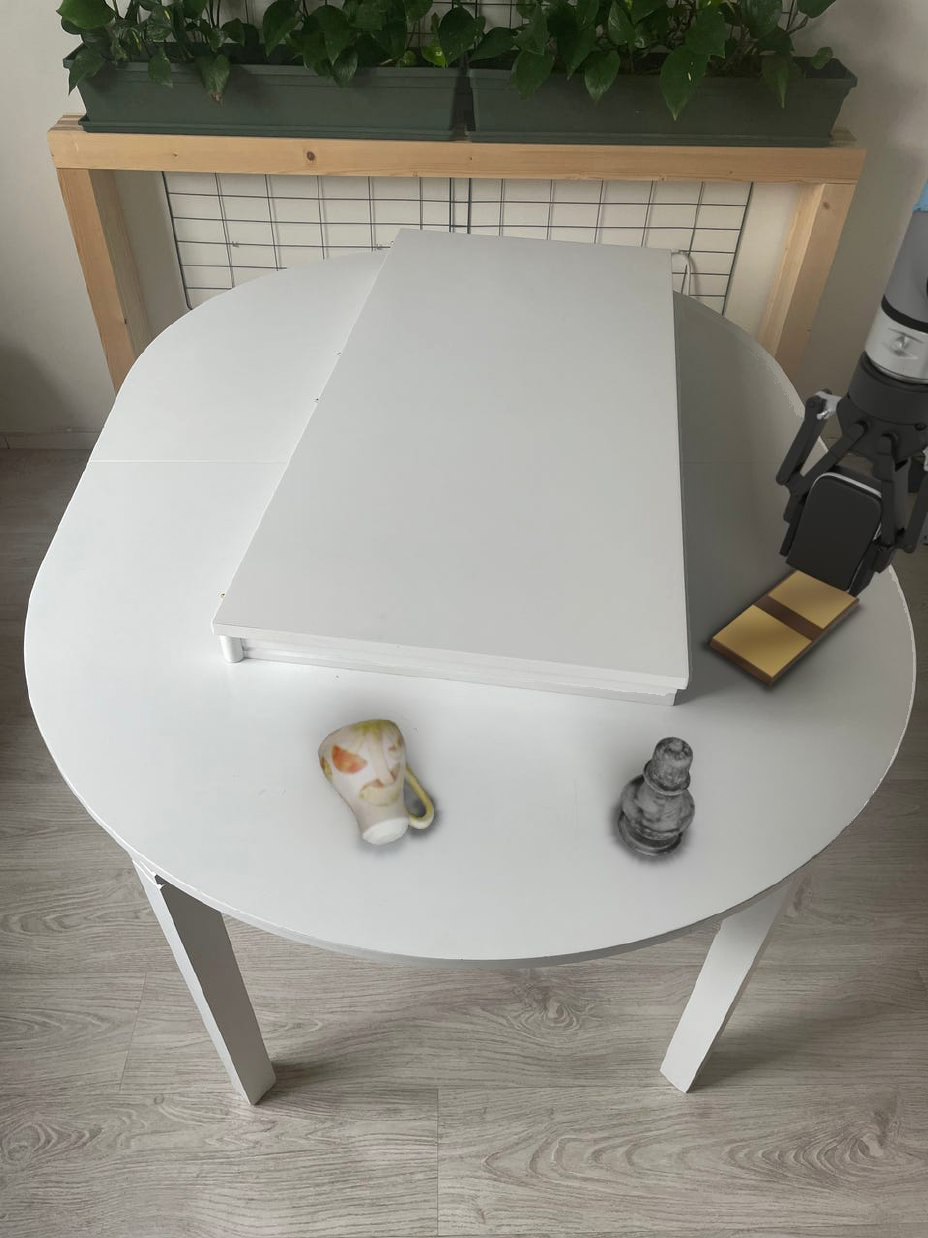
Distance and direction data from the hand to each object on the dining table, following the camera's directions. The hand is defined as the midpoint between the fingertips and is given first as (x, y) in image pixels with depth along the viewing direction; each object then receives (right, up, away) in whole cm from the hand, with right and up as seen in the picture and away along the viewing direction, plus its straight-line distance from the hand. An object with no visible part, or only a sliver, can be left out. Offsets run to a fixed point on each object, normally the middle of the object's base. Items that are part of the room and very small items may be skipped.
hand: (823, 568), depth 92 cm
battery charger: (0, 0, 0) cm, 0 cm away
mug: (-43, -20, -14) cm, 50 cm away
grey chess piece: (-20, -22, -15) cm, 34 cm away
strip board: (-3, -6, +1) cm, 7 cm away
